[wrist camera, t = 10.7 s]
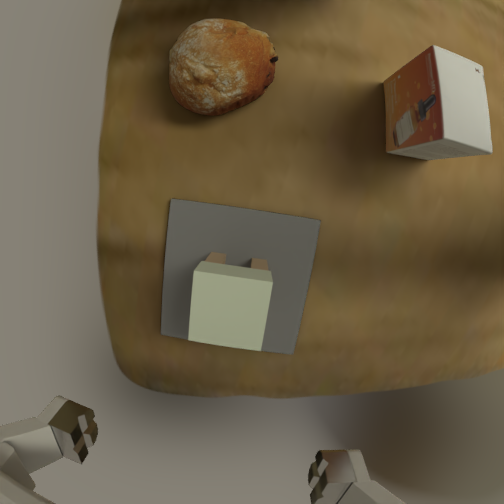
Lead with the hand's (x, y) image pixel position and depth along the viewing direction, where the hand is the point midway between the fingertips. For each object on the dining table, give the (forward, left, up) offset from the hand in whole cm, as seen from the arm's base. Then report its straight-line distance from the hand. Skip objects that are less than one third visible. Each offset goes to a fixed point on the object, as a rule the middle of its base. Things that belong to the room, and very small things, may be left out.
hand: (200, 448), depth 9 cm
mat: (0, 0, -21) cm, 21 cm away
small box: (-15, -19, -21) cm, 32 cm away
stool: (0, 0, -20) cm, 20 cm away
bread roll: (+4, -20, -21) cm, 30 cm away
